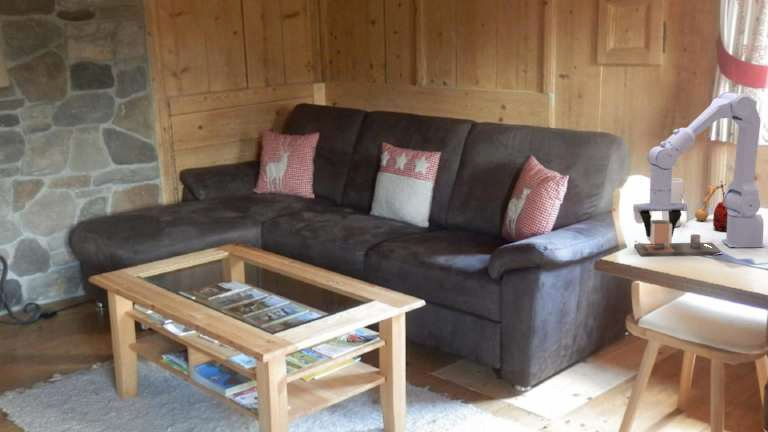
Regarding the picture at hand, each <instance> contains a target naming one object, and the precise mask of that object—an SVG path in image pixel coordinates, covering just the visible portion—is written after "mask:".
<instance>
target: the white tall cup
mask: <svg viewBox="0 0 768 432" xmlns="http://www.w3.org/2000/svg"><path fill="white" fill-rule="evenodd" d="M683 198H684V178H683V179H682V178H678V177H672V186H671V203H683ZM680 212H681V213H682V211H680ZM661 220H669V211H661ZM680 224H681V217H680V218H679V220H678V222H677V224H676V226H675V228H678V227H679V226H680Z"/></svg>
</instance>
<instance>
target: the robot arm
mask: <svg viewBox="0 0 768 432" xmlns="http://www.w3.org/2000/svg"><path fill="white" fill-rule="evenodd" d="M757 103H758V102H757V101H756V100H755V99H754V98H753V97H752V96H751V95H749V94H747V93H742V94H741V93H735V92H730V91H725V92H723V93H721V94H719V96H718V97H716V98H714V99H713V100H712V101H711V103H710V105H709V106H708V107H707V108H705V110H704V111H703V112H702V113H700V114H699V115H698V117H697V118H695V119H694V120H693V121H692V122H691V123H690V124H689V125H688V126H687V127H680V128H676V129H674V130H673V131H672V133H673V134H671V135H669V137H667V139H665V140H664V141H663V140H662V141H661V142H660V145H658V146H654V147H653V148H651V149H650V151H649V153H648V155H647V156H646V159H647V160H646V161H647V162H648V163H649V165H650V177H649V178H650V180H649V181H650V182H649V183H650V186H649V202H646V203H637V204H636V203H635V204H632V205H633V206H632V208H633V209H632V210H633V212H634V213H639V216H640V217H641V220H642V222H643V224H644V225H643V226H644V228H645V236H646V238H647V237H650V222H651V220H652V215H651V212H662V211H669V222H670V223H671V224H672V237H673V236H674V231H675V228H676V227H675V226H676V224H677V222H678V220H679V218H680V219H681V216H682V212H688V204H687V203H685V202H684V203H683V202H682V203H671V186H672V178H673V167H674V166H675V165H676V163H677V161H678V158H679V157H680V156H681V155H682V154H683V153H684V152H686V151H687V150H688V149H689V148H690V147H692V146H693V145H694V144H695V142H696V137H697V136H698V135H700V133H702V132H704V130H706V129H707V128H709V127H710V126H711V125H712V124H714V123H715V122H716V121H718V120H720V119H722V120H723V119H729V118H730V119H731V120H732V121H733V122H734V123H735V124H736V125H737V126H738V133H737V142H736V153H735V160H734V170H733V179H732V181H731V182H730V183H729V184H728V185H727V190H726V191H725V194H724V199H723V198H722V201H723V203H724V206H725V207H726V208H727V212H728V215H727V231H726V238H723V239H721V241H722V242H723V244H724V245H726V244H727V245H728V246H729V247H728V246H727V245H726V246H727V247H728V248H730V247H735V248H763V247H764V227H765V226H764V225H765V224H764V218H763V216H762V215H761V214H760V213H758V212H759V210H760V207H761V200H760V197H759V191H760V190H759V189H758V187H757V185H756V183H755V174H756V166H757V165H756V163H757V155H758V148H759V138H760V128H761V117H760V115H759V112H758V111H759V110H758V109H757ZM680 211H681V212H680ZM757 213H758V214H757Z"/></svg>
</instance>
